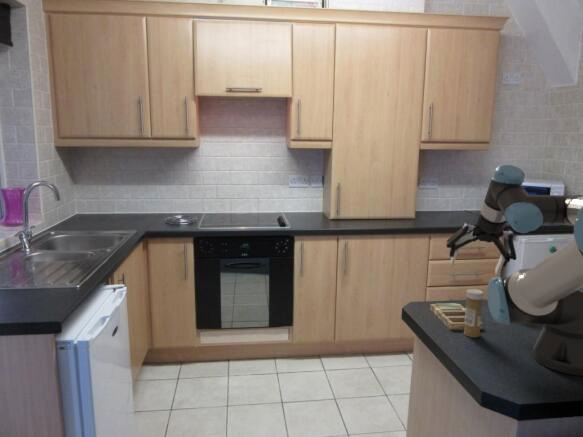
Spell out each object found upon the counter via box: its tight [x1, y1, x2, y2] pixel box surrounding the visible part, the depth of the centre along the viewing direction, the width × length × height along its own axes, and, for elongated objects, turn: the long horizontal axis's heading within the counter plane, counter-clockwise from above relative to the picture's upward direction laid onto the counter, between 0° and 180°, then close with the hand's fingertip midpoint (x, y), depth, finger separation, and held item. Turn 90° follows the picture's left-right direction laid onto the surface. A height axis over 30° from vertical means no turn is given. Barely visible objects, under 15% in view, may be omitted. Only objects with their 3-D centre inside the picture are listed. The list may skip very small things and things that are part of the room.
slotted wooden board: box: [430, 302, 484, 331], centre depth 141 cm, size 16×10×2 cm, turn 3°
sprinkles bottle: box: [463, 288, 485, 338], centre depth 129 cm, size 5×5×14 cm
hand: (473, 268), depth 139 cm, fingers open, 13 cm apart
